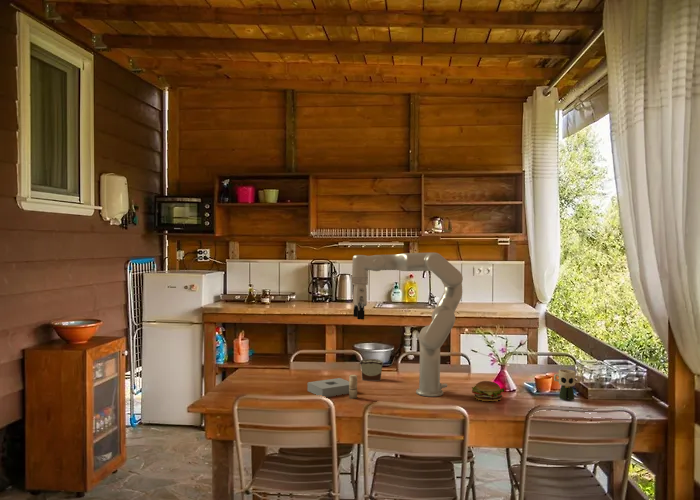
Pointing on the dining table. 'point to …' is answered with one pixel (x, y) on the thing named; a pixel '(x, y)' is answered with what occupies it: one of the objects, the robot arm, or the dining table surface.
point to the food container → (371, 369)
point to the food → (487, 391)
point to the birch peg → (352, 386)
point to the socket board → (329, 387)
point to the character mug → (566, 383)
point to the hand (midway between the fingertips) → (358, 317)
